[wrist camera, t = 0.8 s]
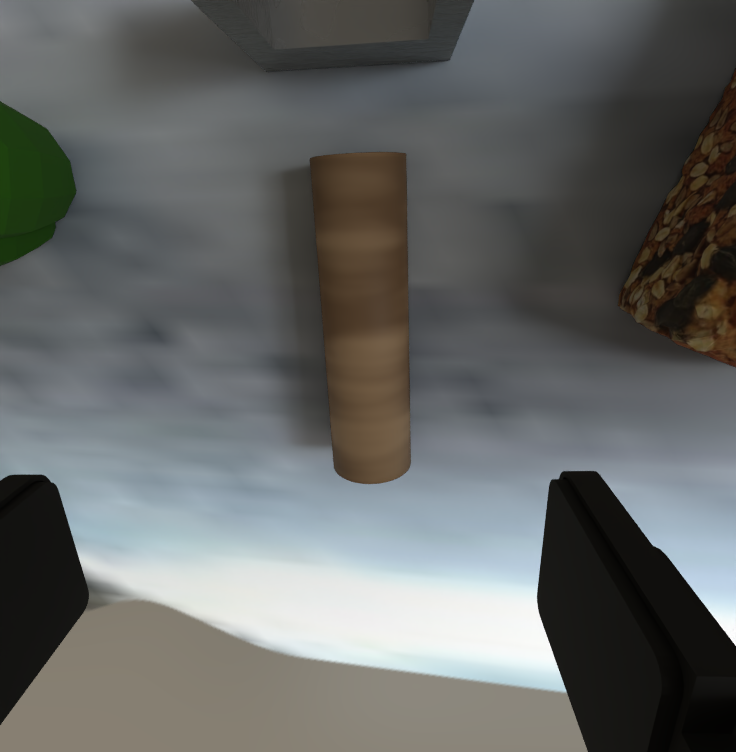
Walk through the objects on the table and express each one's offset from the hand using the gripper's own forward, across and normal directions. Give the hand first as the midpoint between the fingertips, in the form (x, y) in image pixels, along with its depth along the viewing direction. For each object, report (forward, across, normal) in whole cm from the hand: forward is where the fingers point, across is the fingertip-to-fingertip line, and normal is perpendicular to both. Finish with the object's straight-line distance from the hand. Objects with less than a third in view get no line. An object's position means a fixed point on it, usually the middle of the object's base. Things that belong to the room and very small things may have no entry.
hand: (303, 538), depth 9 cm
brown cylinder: (+17, 0, 0) cm, 17 cm away
